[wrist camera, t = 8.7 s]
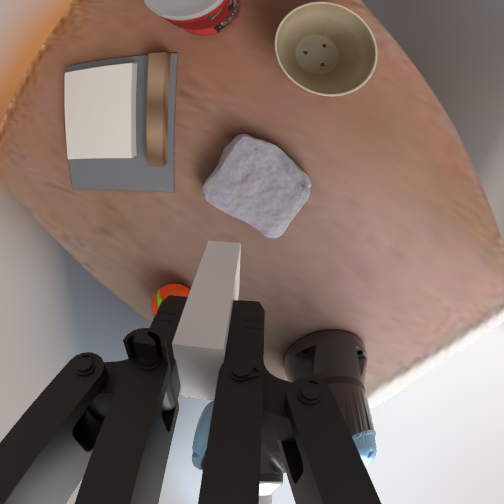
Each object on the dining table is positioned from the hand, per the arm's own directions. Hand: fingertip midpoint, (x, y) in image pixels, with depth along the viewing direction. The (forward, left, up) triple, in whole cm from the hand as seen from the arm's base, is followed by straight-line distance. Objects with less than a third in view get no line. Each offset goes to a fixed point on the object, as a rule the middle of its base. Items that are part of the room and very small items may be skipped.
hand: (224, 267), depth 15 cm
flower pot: (+13, -6, -25) cm, 29 cm away
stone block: (-4, -1, -26) cm, 26 cm away
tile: (+5, +15, -24) cm, 28 cm away
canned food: (+18, +7, -25) cm, 32 cm away
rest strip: (+5, +11, -25) cm, 28 cm away
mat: (+3, +18, -25) cm, 31 cm away
